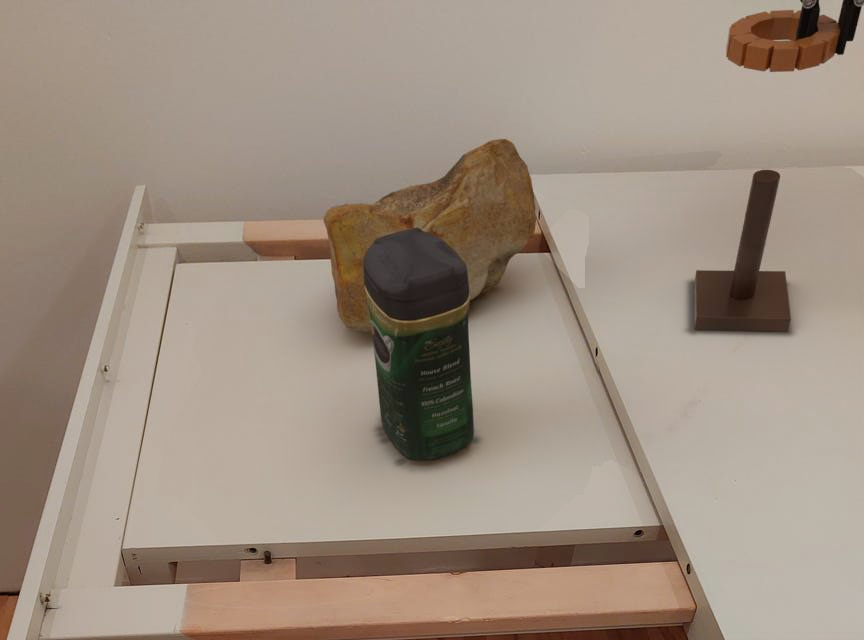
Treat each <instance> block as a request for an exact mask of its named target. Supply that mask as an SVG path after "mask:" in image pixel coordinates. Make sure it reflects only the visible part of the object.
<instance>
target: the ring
mask: <svg viewBox="0 0 864 640" xmlns="http://www.w3.org/2000/svg"><path fill="white" fill-rule="evenodd" d="M800 14H801V10H800V9H799V10H798V9H797V11H795V10H794V9H785V10H783V9H782V10H781V9H780V10H770V11H769V12H767V11H762V12H758V13H757V12H756V13H754V14H749V15H746V16H745V17H741V18H740V19H738V20H737V21H735V22H734V23H732V24H730V26H729V28H728V35H727V41H726V48H725V57H726V58H727V60H728V61H730V62H731V63H733V64H735V65H736V66H738V67H742V66H743V69H748V70H753V71H758V72H766V71H767V70H769V73H781V72H782V73H783V72H784V73H785V72H794V71H795V69H796V70H797V71H803V70H807V69H812V68H814V67H819V66H820V65H824V64H826V63H827V62H828V61H829V60H831V59H832V58H833V57H834V56H835V55H836V53H835V51H836V47H837V43H838V39H839V34H840V27H839V23H838V21H837V20H836V19H834V18H832V17H830V16H827V15H825V14H819V18H818V23H817V27H816V32H815V34H813V35H812V36H810V37H807V38H803V39H799V40H796V33H797V28H798V23H799V19H800Z"/></svg>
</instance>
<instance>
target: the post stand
mask: <svg viewBox="0 0 864 640" xmlns="http://www.w3.org/2000/svg"><path fill="white" fill-rule="evenodd" d="M780 179H781V174H780V173H779V172H778V171H776V170H772V169H760V170H757V171H755V172H754V173H753V174H752V179H751V184H750V189H749V195H748V200H747V204H746V211H745V214H744V218H743V223H742V229H741V234H740V240H739V243H738V250H737V254H736V260H735V264H734V269H733V270H707V269H706V270H702V269H699V270H698V269H697V270H696V271H695V276H694V281H693V298H694V299H693V308H694V309H693V313H694V314H693V317H694V318H693V319H694V321H693V324H694V325H693V326H694V328H693V329H694V330H695V331H731V332H733V331H737V332H738V331H739V332H779V333H781V332H782V333H787V332H789V328H790V324H791V320H792V318H791V309H790V299H789V292H788V282H787V275H786V274H787V273H786V271H785V270H761V265H762V261H763V256H764V252H765V247H766V242H767V238H768V234H769V230H770V225H771V221H772V217H773V216H772V215H773V211H774V207H775V203H776V197H777V194H778V189H779V184H780Z"/></svg>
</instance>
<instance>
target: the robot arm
mask: <svg viewBox="0 0 864 640" xmlns="http://www.w3.org/2000/svg"><path fill="white" fill-rule="evenodd" d="M799 1H800V3H801V4H802V6H801V14H800V19H799V23H798V28H797V33H796V40H799V39H803V38H807V37H810V36H812V35H813V34H815V32H816V27H817V23H818V18H819V16H820V15H821V14H820V13H821V7H820V6H821V5H820V0H799ZM863 6H864V0H842V4H841V7H840V12H839V16H838V21H837V23H839V27H840V34H839V39H838V43H837V47H836V51H835V54H836V55H837V56H843V55H844V53H845V50H846V47H847V43H848V42H853V41H854V39H855V35H856V31H857V27H858V24H859V19H860V15H861V11H862V7H863Z"/></svg>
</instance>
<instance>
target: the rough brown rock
mask: <svg viewBox="0 0 864 640" xmlns="http://www.w3.org/2000/svg"><path fill="white" fill-rule="evenodd" d="M536 208H537V207H536V202H535V193H534V189H533V182H532V178H531V174H530V171H529V167H528V165H527V163H526V162H525V161H524V160H523V158H522V157H521V156H520V154H519V152H518V149H517V147H516V146H515V144H514V143H513V141H510V140H509V139H507V138H499V139H492V140H489V141H487V142H485V143H483V144H482V145H480V146H478V147H476V148H474V149H471V150H470V151H467V152H466V153H464V154H462V156H461V157H460V158H459V159H458V161H457V162H455V164H454V165H453V166H452V167H451V168H450V169H449V170H448V172H447V173H446V174H445V175H444V176H442V177H441V178H439V179H437V180H434V181H432V182H428V183H423V184H417V185H409V186H407V187H405V188H401V189H399V190H395V191H392V192H390V193H388V194H387V195H385V196H382V197H381V198H380V199H379V200H378V201H376V202H374V203H372V204H368V203H345V204H342V205H333V206H331V207H330V208H328V209H327V211H326V212H325V214H324V216H323V224H324V226H325V228H326V233H327V239H328V244H329V256H330V258H329V259H330V267H331V276H332V279H333V283H334V291H335V292H334V293H335V294H334V295H335V298H336V310H337V313H338V317H339V319H340V320H341V322H342V324H343V325H344V326H345V327H346V328H348V329H349V330H357V331H362V332H366V333H369V334H371V335H372V327H371V320H370V313H369V308H368V303H367V297H366V292H365V285H364V267H363V262H364V257H365V254H366V252H367V250H368V249H369V248H370V246H371V245H372V244H373V243H374V241H375V240H376V238H379V237H382V236H385V235H388V234H392V233H396V232H399V231H403V230H407V229H412V228H416V227H417V228H420V229H421V230H422V231H425V232H428V233H430V234H433V235H435V236H437V237H439V238H441V239H442V240H444V241H445V242H446V243H447V244H448V245H449V246H450V247H451V248H452V249H453V250H454V251H455V252H456V253H457V254H458V255H459V256H460V257H461V259H462V260H463V261H464V263H465V264H466V267H467V273H468V282H469V293H470V301H472V300H474V299H475V298H476V297H478V296H479V295H480V294H481V293H485V292H487V291H490V290H491V289H494V288H495V287H496V286H497V285H498V284H499V283H500V282H501V281H502V278H503V276H504V274H505V272H506V270H507V266H508V264H509V262H510V261H511V259H512V258H513V257H514V256H515V255H517V254H519V253H521V251H522V250H523V248H524V247H525V246H526V244H527V243H528V241H529V240H530V239H532V238H533V237H534V233H535V231H536V224H537V217H536Z"/></svg>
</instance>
